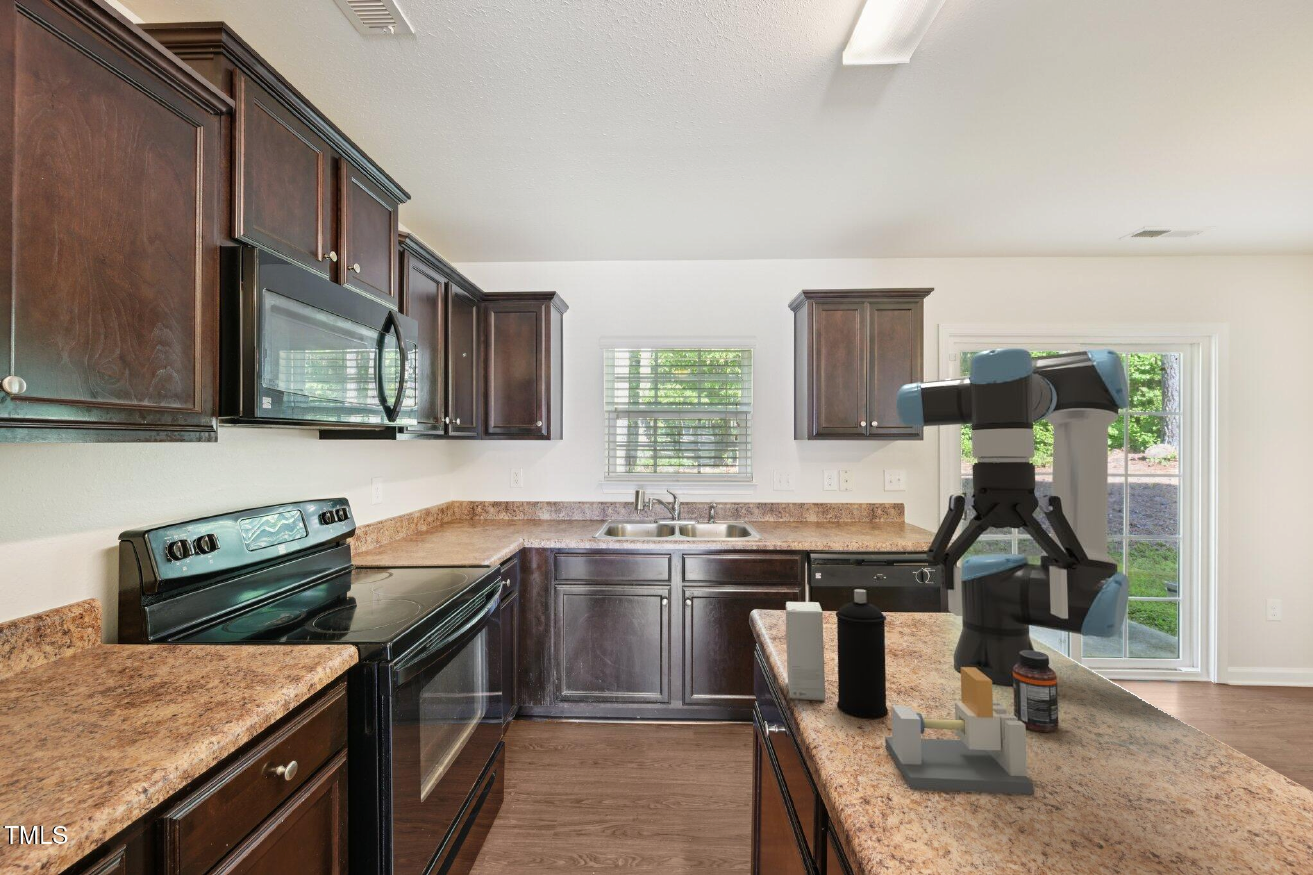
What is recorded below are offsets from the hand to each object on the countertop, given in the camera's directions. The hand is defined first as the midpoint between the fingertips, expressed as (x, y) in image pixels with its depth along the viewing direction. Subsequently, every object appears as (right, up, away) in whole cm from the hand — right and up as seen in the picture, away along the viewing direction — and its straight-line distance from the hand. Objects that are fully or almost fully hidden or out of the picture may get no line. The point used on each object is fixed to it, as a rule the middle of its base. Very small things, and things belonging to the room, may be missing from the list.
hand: (1006, 614), depth 81 cm
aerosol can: (-13, -22, +19) cm, 32 cm away
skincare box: (-21, -22, +26) cm, 41 cm away
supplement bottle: (+12, -22, +13) cm, 28 cm away
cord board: (-8, -21, -1) cm, 22 cm away
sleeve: (-5, -17, -1) cm, 18 cm away
